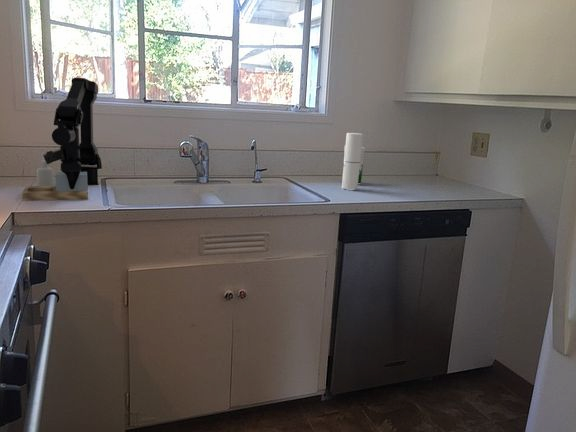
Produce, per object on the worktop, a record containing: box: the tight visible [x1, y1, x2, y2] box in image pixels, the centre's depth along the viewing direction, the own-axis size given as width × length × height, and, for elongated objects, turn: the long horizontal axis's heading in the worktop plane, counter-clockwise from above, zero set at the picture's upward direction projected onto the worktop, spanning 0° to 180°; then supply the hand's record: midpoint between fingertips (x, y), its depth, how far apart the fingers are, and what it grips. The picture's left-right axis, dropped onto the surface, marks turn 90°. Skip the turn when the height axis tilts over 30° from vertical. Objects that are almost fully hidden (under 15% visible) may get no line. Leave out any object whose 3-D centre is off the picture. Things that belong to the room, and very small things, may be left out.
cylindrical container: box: [341, 132, 364, 190], centre depth 219 cm, size 7×7×25 cm
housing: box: [54, 171, 89, 192], centre depth 172 cm, size 10×7×6 cm
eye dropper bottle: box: [36, 156, 55, 186], centre depth 179 cm, size 4×6×12 cm
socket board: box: [21, 185, 89, 202], centre depth 171 cm, size 20×12×2 cm, turn 113°
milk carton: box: [341, 145, 366, 183], centre depth 236 cm, size 9×9×20 cm
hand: (72, 187), depth 172 cm, fingers closed on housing, 7 cm apart
